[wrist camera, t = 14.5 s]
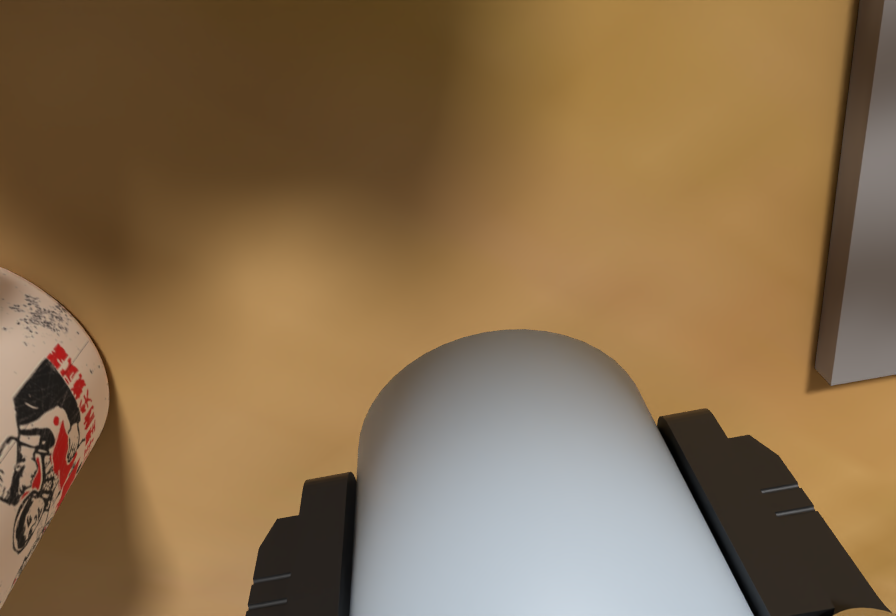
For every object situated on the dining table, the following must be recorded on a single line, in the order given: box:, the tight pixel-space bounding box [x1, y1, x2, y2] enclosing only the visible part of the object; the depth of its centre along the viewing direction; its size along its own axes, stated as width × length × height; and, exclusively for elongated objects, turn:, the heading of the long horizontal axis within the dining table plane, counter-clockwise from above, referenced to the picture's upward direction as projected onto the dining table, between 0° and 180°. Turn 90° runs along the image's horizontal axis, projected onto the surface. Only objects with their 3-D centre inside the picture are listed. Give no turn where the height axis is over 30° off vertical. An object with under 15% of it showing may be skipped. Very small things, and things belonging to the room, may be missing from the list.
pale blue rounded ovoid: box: [349, 329, 754, 616], centre depth 9 cm, size 5×5×6 cm
